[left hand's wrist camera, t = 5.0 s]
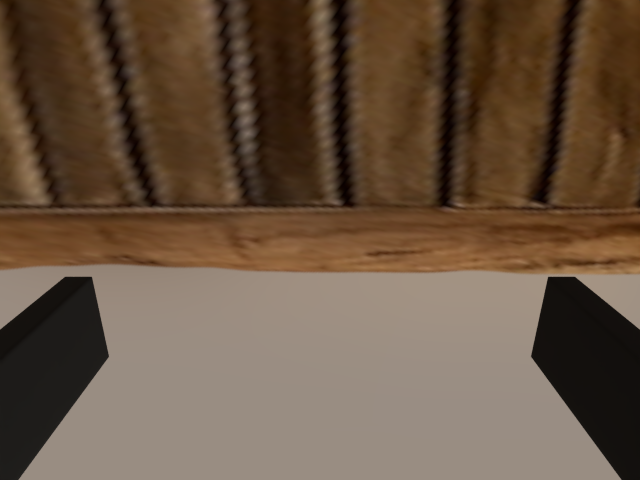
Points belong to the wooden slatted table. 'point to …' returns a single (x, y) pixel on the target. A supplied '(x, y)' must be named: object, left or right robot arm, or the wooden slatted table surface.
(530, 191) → the wooden slatted table surface
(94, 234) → the wooden slatted table surface
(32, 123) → the wooden slatted table surface
